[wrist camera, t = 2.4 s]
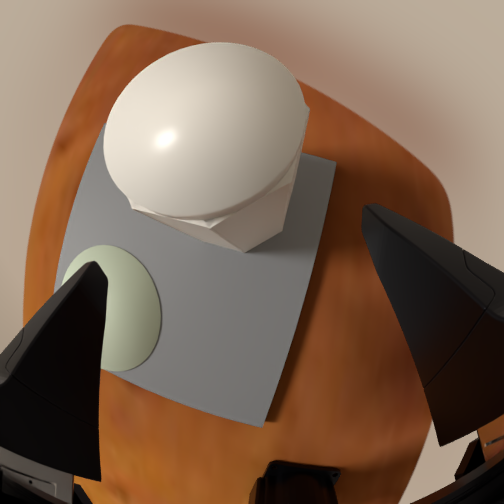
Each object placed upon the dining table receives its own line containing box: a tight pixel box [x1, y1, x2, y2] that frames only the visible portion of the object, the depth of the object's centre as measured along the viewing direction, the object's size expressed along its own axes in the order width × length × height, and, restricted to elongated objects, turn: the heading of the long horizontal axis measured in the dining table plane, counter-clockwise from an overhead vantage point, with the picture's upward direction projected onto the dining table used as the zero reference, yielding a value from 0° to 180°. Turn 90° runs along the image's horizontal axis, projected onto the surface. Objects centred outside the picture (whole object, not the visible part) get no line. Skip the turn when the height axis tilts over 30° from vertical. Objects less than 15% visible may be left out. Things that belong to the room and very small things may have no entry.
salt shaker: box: [103, 42, 310, 253], centre depth 13 cm, size 7×7×11 cm
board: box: [54, 123, 337, 428], centre depth 19 cm, size 20×20×1 cm
